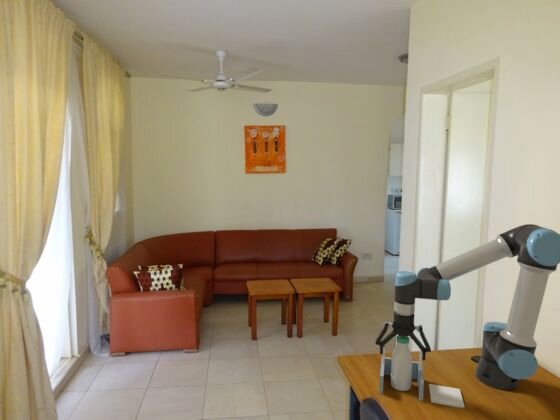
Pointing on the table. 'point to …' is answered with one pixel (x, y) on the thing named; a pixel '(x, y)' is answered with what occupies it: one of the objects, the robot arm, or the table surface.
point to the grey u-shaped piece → (416, 375)
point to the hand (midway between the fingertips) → (401, 364)
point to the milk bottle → (401, 365)
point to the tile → (446, 395)
